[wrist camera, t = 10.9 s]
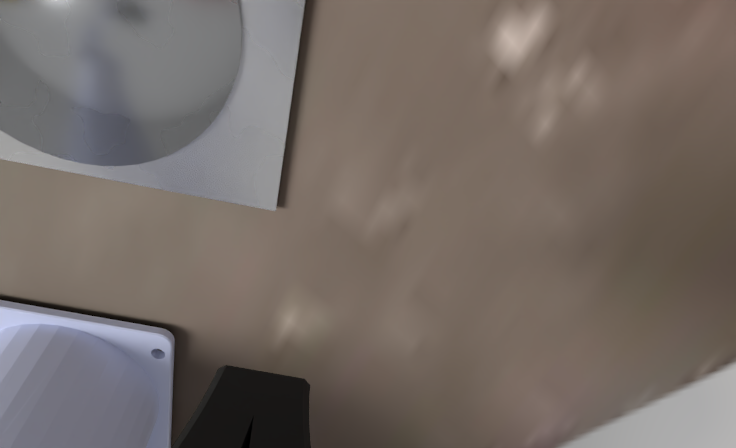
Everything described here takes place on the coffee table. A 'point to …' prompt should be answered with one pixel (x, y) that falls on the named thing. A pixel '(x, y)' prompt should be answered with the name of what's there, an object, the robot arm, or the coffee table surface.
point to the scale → (152, 91)
